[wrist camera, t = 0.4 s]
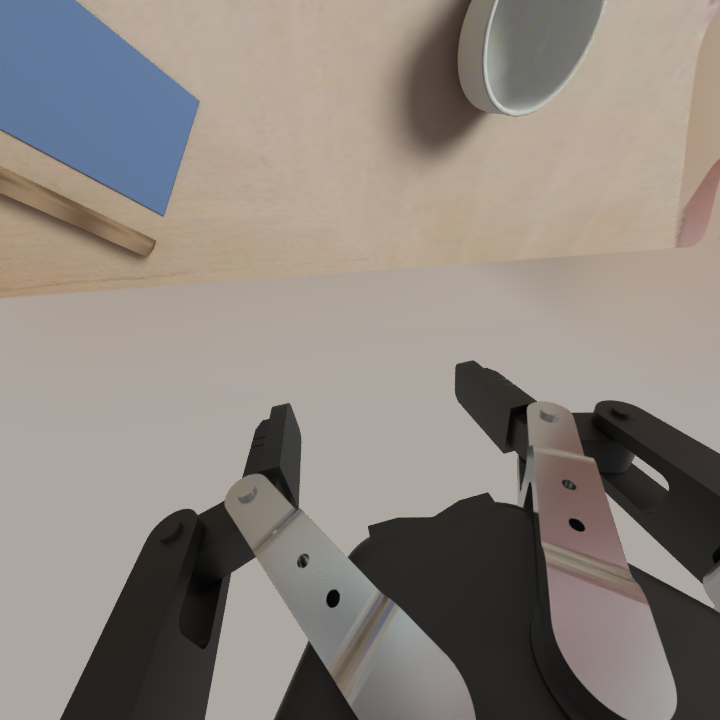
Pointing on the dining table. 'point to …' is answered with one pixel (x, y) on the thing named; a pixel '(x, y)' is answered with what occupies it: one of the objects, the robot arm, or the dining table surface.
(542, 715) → the robot arm
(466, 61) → the teacup
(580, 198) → the dining table surface
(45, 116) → the mark
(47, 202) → the stopper
